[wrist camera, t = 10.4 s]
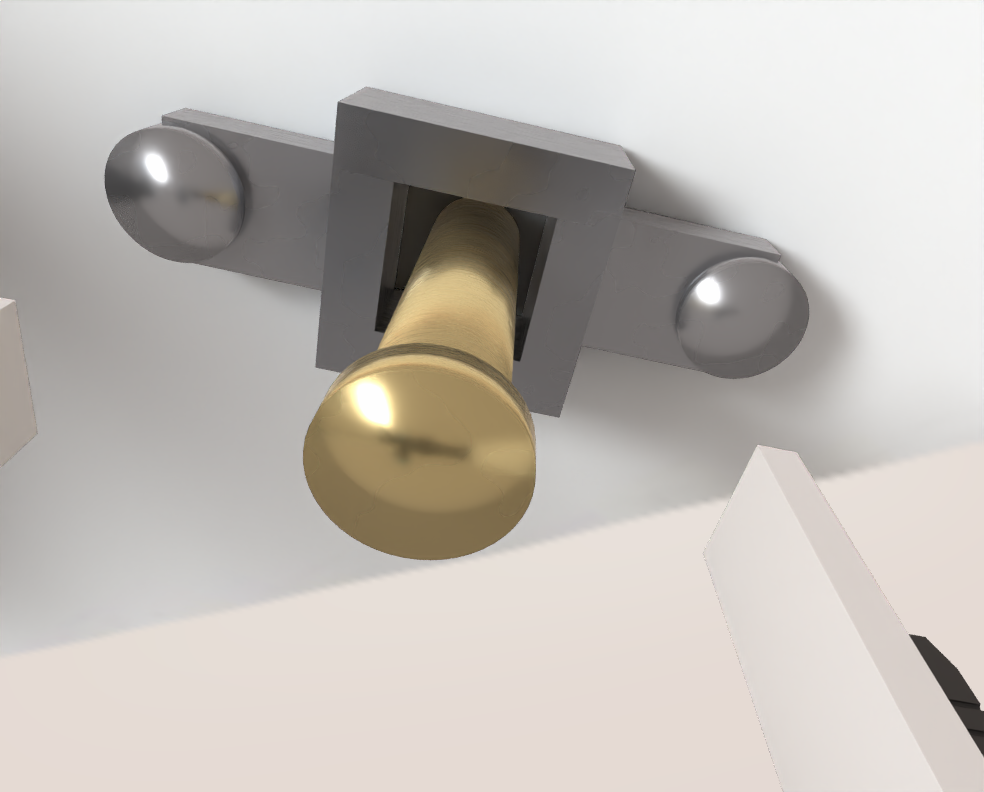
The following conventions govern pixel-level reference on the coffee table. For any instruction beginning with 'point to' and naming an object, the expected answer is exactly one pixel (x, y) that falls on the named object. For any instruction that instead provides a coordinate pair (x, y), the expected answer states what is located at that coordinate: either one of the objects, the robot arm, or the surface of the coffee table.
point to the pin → (434, 405)
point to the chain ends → (470, 174)
